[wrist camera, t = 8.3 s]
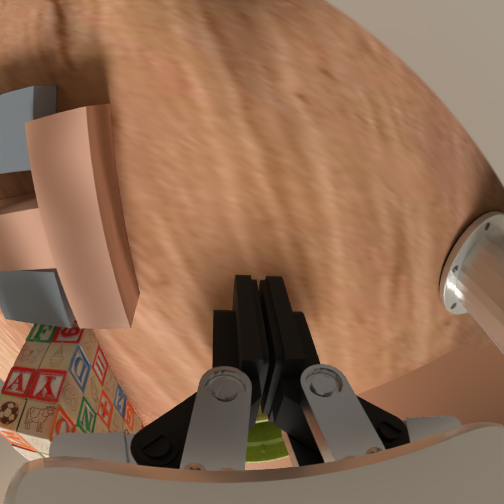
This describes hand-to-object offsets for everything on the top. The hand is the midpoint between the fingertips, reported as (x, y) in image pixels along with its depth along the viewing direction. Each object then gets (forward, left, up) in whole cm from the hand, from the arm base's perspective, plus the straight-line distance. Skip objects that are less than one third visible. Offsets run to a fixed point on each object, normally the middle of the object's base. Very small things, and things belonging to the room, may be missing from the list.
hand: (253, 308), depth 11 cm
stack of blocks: (+14, +21, -10) cm, 27 cm away
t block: (+14, +1, -10) cm, 17 cm away
